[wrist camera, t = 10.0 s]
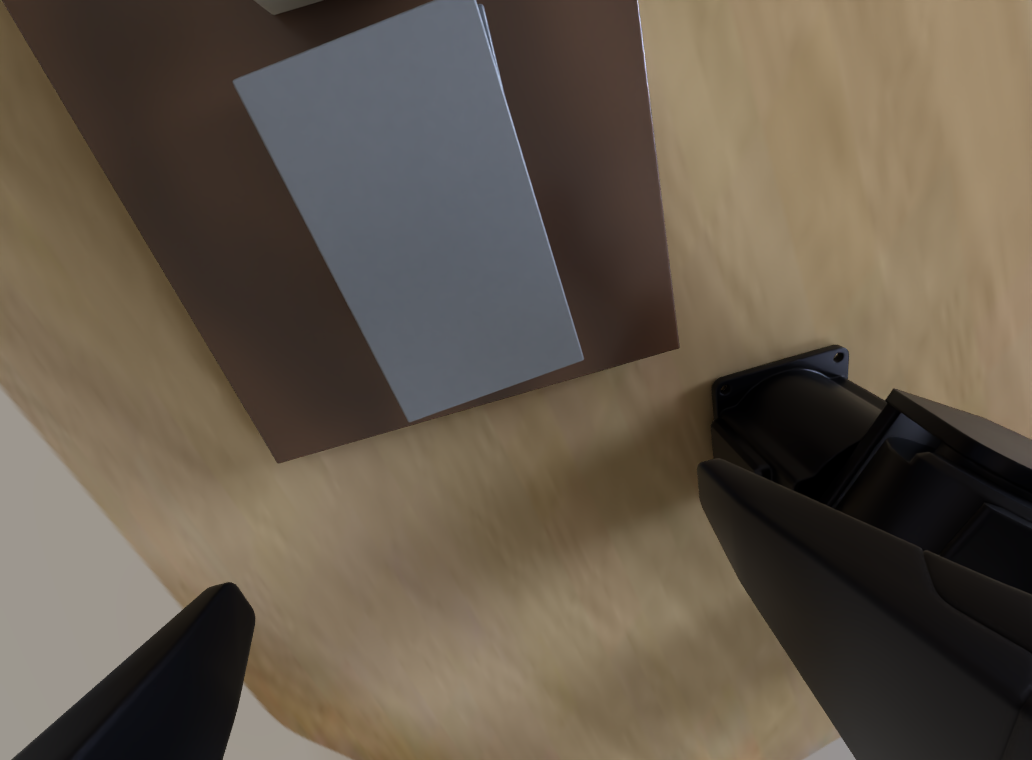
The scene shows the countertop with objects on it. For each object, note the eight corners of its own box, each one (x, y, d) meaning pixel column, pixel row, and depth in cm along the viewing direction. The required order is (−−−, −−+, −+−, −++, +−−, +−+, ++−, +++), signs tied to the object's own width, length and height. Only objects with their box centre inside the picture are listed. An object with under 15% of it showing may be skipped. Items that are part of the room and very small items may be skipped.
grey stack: (491, 15, 15) (500, -25, 12) (565, 336, 20) (587, 372, 16) (272, 80, 15) (220, 59, 12) (399, 384, 20) (387, 429, 16)
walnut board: (501, -919, 10) (509, -1094, 8) (666, 336, 22) (680, 348, 20) (-337, -650, 10) (-463, -777, 9) (288, 445, 22) (277, 464, 21)
